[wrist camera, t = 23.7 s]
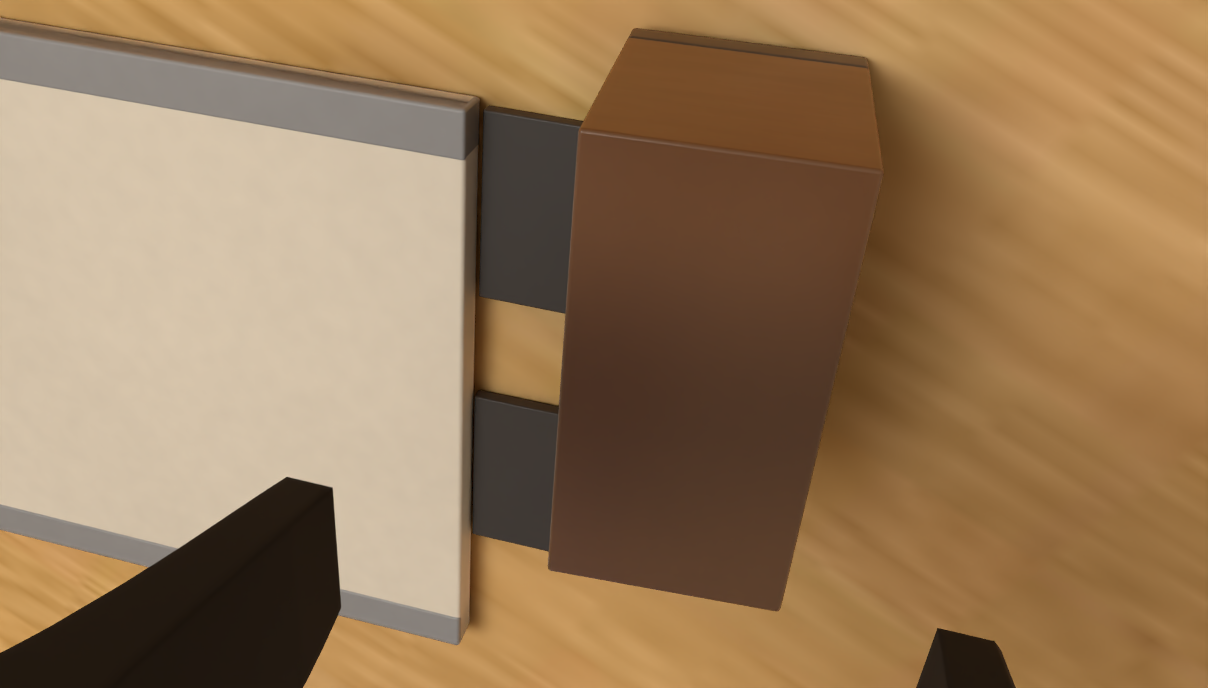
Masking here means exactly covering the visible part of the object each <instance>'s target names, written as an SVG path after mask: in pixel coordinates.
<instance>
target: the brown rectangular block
mask: <svg viewBox="0 0 1208 688" xmlns="http://www.w3.org/2000/svg"><path fill="white" fill-rule="evenodd" d="M883 175H884V171H883V164H882V157H881V150H880V143H879V135H878V128H877V121H876V114H875V107H874V100H873V93H872V86H871V79H870V72H869V66H868V60H867V59H866V58H865V57H857V56H849V55H842V54H834V53H826V52H818V51H810V50H802V49H795V48H787V47H779V46H771V45H763V44H756V43H748V42H740V41H732V40H724V39H717V38H709V37H701V36H693V35H685V34H677V33H670V32H662V31H654V30H646V29H638V28H635V29H633V30H632V32H631V34H630V36H629V38H628V39H627V41H626V43H625V45H624V47H623V48H622V50H621V52H620V54H619V56H618V58H617V60H616V61H615V63H614V65H613V67H612V69H611V71H610V73H609V75H608V76H607V78H606V80H605V82H604V84H603V86H602V88H601V90H600V91H599V93H598V95H597V97H596V99H595V101H594V103H593V104H592V106H591V108H590V110H589V112H588V114H587V116H586V118H585V119H584V121H583V123H582V125H581V127H580V129H579V131H578V141H577V155H576V169H575V184H574V198H573V212H572V227H571V241H570V255H569V270H568V284H567V298H566V313H565V327H564V341H563V356H562V370H561V384H560V399H559V413H558V427H557V442H556V456H555V471H554V485H553V499H552V514H551V528H550V542H549V557H548V569H549V570H551V571H556V572H562V573H567V574H573V575H578V576H584V577H589V578H595V579H600V580H606V581H611V582H617V583H622V584H628V585H634V586H639V587H645V588H650V589H656V590H661V591H667V592H672V593H678V594H683V595H689V596H694V597H700V598H705V599H711V600H716V601H722V602H727V603H733V604H739V605H744V606H750V607H755V608H761V609H766V610H772V611H779V610H780V608H781V605H782V601H783V596H784V592H785V588H786V584H787V579H788V575H789V571H790V567H791V563H792V558H793V554H794V550H795V546H796V542H797V537H798V533H799V529H800V525H801V521H802V516H803V512H804V508H805V504H806V500H807V495H808V491H809V487H810V483H811V478H812V474H813V470H814V466H815V462H816V457H817V453H818V449H819V445H820V441H821V436H822V432H823V428H824V424H825V420H826V415H827V411H828V407H829V403H830V398H831V394H832V390H833V386H834V382H835V377H836V373H837V369H838V365H839V361H840V356H841V352H842V348H843V344H844V340H845V335H846V331H847V327H848V323H849V318H850V314H851V310H852V306H853V302H854V297H855V293H856V289H857V285H858V281H859V276H860V272H861V268H862V264H863V260H864V255H865V251H866V247H867V243H868V238H869V234H870V230H871V226H872V222H873V217H874V213H875V209H876V205H877V201H878V196H879V192H880V188H881V184H882V180H883Z"/></svg>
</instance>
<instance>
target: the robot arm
mask: <svg viewBox="0 0 1208 688" xmlns="http://www.w3.org/2000/svg"><path fill="white" fill-rule="evenodd" d="M340 610H341V595H340V581H339V568H338V554H337V540H336V526H335V512H334V498H333V487H329V486H325V485H320V484H316V483H312V482H307V481H303V480H299V479H294V478H290V477H286V478H284V479H282V480H281V481H279V482H278V483H276V484H275V485H273V486H272V487H270V488H268V489H267V490H265V491H264V492H262V493H261V494H259V495H258V496H256V497H255V498H253V499H252V500H250V501H249V502H247V503H246V504H244V505H243V506H241V507H240V508H238V509H237V510H235V511H234V512H232V513H231V514H229V515H228V516H226V517H225V518H223V519H222V520H220V521H219V522H217V523H216V524H214V525H213V526H211V527H210V528H208V529H207V530H205V531H204V532H202V533H201V534H199V535H198V536H196V537H195V538H193V539H192V540H190V541H189V542H187V543H186V544H184V545H183V546H181V547H180V548H178V549H177V550H175V551H173V552H172V553H170V554H169V555H167V556H166V557H164V558H163V559H161V560H159V561H158V562H156V563H155V564H153V565H152V566H150V567H149V568H147V569H145V570H144V571H142V572H141V573H139V574H138V575H136V576H135V577H133V578H131V579H130V580H128V581H127V582H125V583H123V584H122V585H120V586H118V587H117V588H115V589H113V590H112V591H110V592H108V593H107V594H105V595H103V596H101V597H100V598H98V599H96V600H95V601H93V602H91V603H90V604H88V605H86V606H85V607H83V608H81V609H79V610H78V611H76V612H74V613H73V614H71V615H69V616H68V617H66V618H64V619H62V620H61V621H59V622H57V623H56V624H54V625H52V626H50V627H49V628H47V629H45V630H43V631H41V632H39V633H38V634H36V635H34V636H32V637H30V638H28V639H26V640H24V641H23V642H21V643H19V644H17V645H15V646H13V647H11V648H9V649H7V650H5V651H3V652H1V653H0V688H303V686H304V685H305V683H306V681H307V679H308V677H309V675H310V673H311V671H312V669H313V667H314V665H315V663H316V661H317V659H318V657H319V655H320V653H321V651H322V649H323V647H324V644H325V642H326V640H327V638H328V636H329V634H330V631H331V629H332V627H333V625H334V623H335V620H336V618H337V616H338V614H339V612H340ZM916 688H1016V687H1015V685H1014V682H1013V680H1012V677H1011V675H1010V672H1009V670H1008V667H1007V665H1006V662H1005V659H1004V657H1003V654H1002V651H1001V650H1000V649H999V647H998V646H997V644H996V643H995V641H991V640H987V639H982V638H978V637H974V636H969V635H965V634H961V633H957V632H952V631H948V630H944V629H939V628H937V631H936V634H935V637H934V640H933V642H932V645H931V648H930V651H929V654H928V656H927V659H926V662H925V665H924V668H923V670H922V673H921V676H920V679H919V682H918V684H917V687H916Z"/></svg>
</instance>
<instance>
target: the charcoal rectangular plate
mask: <svg viewBox="0 0 1208 688" xmlns="http://www.w3.org/2000/svg"><path fill="white" fill-rule="evenodd" d="M558 413H559V407H558V406H553V405H548V404H543V403H539V402H534V401H529V400H524V399H519V398H515V397H510V396H505V395H500V394H496V393H491V392H486V391H481V390H479V391H478V393H477V394H476V396H475V408H474V469H473V529H472V533H473V534H476V535H481V536H485V537H489V538H493V539H498V540H502V541H506V542H511V543H515V544H519V545H523V546H528V547H532V548H536V549H541V550H545V551H549V542H550V528H551V514H552V499H553V485H554V471H555V456H556V442H557V427H558Z"/></svg>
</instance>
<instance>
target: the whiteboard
mask: <svg viewBox="0 0 1208 688" xmlns="http://www.w3.org/2000/svg"><path fill="white" fill-rule="evenodd" d="M478 145H479V98H478V97H476V96H470V95H464V94H458V93H452V92H446V91H440V90H434V89H428V88H422V87H416V86H410V85H404V84H398V83H392V82H386V81H380V80H374V79H368V78H362V77H356V76H350V75H343V74H337V73H331V72H325V71H319V70H313V69H307V68H301V67H295V66H289V65H283V64H277V63H271V62H265V61H259V60H253V59H247V58H241V57H235V56H229V55H223V54H217V53H211V52H205V51H199V50H193V49H187V48H181V47H175V46H169V45H163V44H156V43H150V42H144V41H138V40H132V39H126V38H120V37H114V36H108V35H102V34H96V33H90V32H84V31H78V30H72V29H66V28H60V27H54V26H48V25H42V24H36V23H30V22H24V21H18V20H12V19H6V18H0V530H3V531H7V532H11V533H15V534H19V535H23V536H27V537H31V538H35V539H39V540H43V541H47V542H51V543H55V544H59V545H63V546H67V547H71V548H75V549H79V550H83V551H86V552H90V553H94V554H98V555H102V556H106V557H110V558H114V559H118V560H122V561H126V562H130V563H134V564H138V565H142V566H146V567H150V566H152V565H153V564H155V563H156V562H158V561H159V560H161V559H163V558H164V557H166V556H167V555H169V554H170V553H172V552H173V551H175V550H177V549H178V548H180V547H181V546H183V545H184V544H186V543H187V542H189V541H190V540H192V539H193V538H195V537H196V536H198V535H199V534H201V533H202V532H204V531H205V530H207V529H208V528H210V527H211V526H213V525H214V524H216V523H217V522H219V521H220V520H222V519H223V518H225V517H226V516H228V515H229V514H231V513H232V512H234V511H235V510H237V509H238V508H240V507H241V506H243V505H244V504H246V503H247V502H249V501H250V500H252V499H253V498H255V497H256V496H258V495H259V494H261V493H262V492H264V491H265V490H267V489H268V488H270V487H272V486H273V485H275V484H276V483H278V482H279V481H281V480H282V479H284V478H286V477H290V478H294V479H299V480H303V481H307V482H312V483H316V484H320V485H325V486H329V487H333V498H334V512H335V526H336V540H337V554H338V568H339V581H340V595H341V610H340V612H339V614H338V615H340V616H343V617H347V618H351V619H355V620H359V621H363V622H367V623H371V624H375V625H379V626H383V627H387V628H391V629H395V630H399V631H403V632H407V633H411V634H415V635H419V636H423V637H426V638H430V639H434V640H438V641H442V642H446V643H450V644H454V645H458V644H459V643H460V642H461V640H462V637H463V635H464V633H465V631H466V629H467V627H468V625H469V612H470V553H471V500H472V447H473V394H474V341H475V288H476V235H477V182H478Z"/></svg>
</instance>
